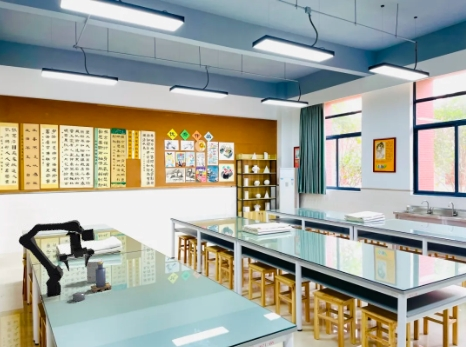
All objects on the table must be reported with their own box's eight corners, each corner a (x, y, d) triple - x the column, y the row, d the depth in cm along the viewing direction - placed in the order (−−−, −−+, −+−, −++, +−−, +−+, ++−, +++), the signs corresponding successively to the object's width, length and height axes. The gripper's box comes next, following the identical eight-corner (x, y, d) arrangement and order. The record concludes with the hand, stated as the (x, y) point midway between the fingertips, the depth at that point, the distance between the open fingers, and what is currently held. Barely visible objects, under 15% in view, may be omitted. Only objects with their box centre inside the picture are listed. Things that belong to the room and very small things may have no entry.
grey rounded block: (73, 302, 185) (73, 297, 185) (71, 299, 190) (71, 293, 190) (85, 300, 188) (85, 294, 188) (83, 296, 193) (83, 291, 193)
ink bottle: (99, 288, 201) (98, 264, 200) (94, 286, 204) (93, 262, 204) (107, 285, 205) (107, 261, 204) (102, 283, 208) (101, 260, 208)
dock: (93, 292, 199) (93, 289, 199) (90, 289, 204) (90, 286, 204) (111, 289, 204) (111, 285, 204) (108, 285, 210) (108, 282, 210)
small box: (103, 278, 223) (102, 258, 223) (100, 282, 217) (100, 261, 217) (90, 279, 222) (89, 259, 222) (86, 282, 216) (86, 262, 216)
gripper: (60, 247, 188) (62, 276, 189) (96, 241, 199) (98, 268, 200) (56, 244, 197) (58, 271, 197) (90, 238, 208) (92, 264, 209)
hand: (77, 269), depth 201 cm, fingers open, 9 cm apart
